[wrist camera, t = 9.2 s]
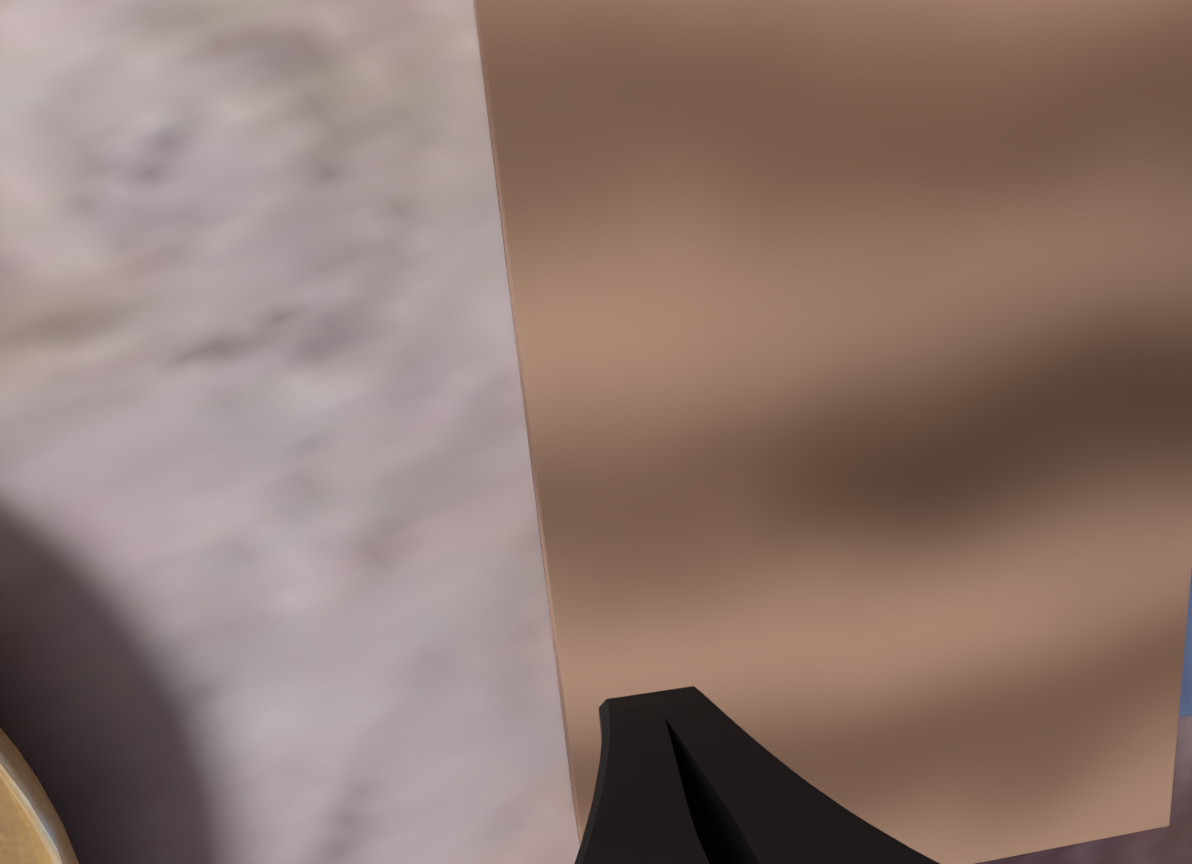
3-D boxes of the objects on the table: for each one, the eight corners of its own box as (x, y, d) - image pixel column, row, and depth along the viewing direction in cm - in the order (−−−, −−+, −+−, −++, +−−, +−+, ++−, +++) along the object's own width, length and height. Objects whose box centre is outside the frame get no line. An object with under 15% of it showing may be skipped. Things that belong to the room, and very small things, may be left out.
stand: (1057, 728, 24) (1169, 825, 20) (574, 815, 22) (593, 937, 18) (1092, -43, 19) (1250, -113, 15) (473, 3, 17) (471, -61, 13)
